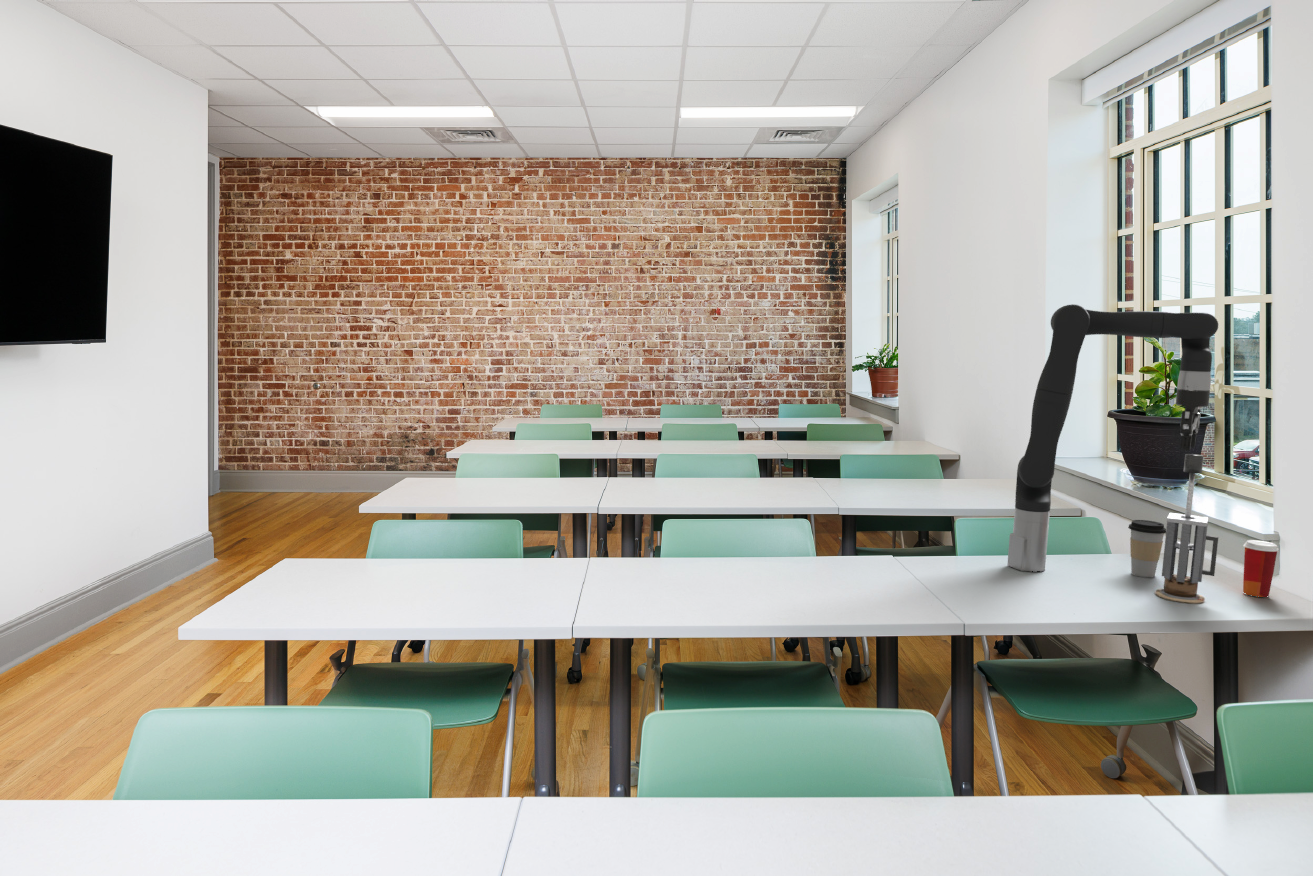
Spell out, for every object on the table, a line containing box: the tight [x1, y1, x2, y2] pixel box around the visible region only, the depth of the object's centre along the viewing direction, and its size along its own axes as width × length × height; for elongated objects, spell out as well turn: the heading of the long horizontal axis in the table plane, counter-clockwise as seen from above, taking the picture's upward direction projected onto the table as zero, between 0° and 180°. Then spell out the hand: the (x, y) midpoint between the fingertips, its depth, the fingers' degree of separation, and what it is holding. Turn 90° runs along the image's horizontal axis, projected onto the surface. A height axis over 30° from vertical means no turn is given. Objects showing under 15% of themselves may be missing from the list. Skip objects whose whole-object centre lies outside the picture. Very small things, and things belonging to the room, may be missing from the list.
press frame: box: [1154, 512, 1219, 605], centre depth 225 cm, size 12×11×21 cm
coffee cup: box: [1128, 519, 1167, 578], centre depth 247 cm, size 9×9×15 cm
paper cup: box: [1242, 539, 1280, 598], centre depth 230 cm, size 8×8×14 cm
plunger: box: [1175, 453, 1204, 552], centre depth 224 cm, size 6×6×24 cm
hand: (1187, 448), depth 236 cm, fingers open, 8 cm apart
